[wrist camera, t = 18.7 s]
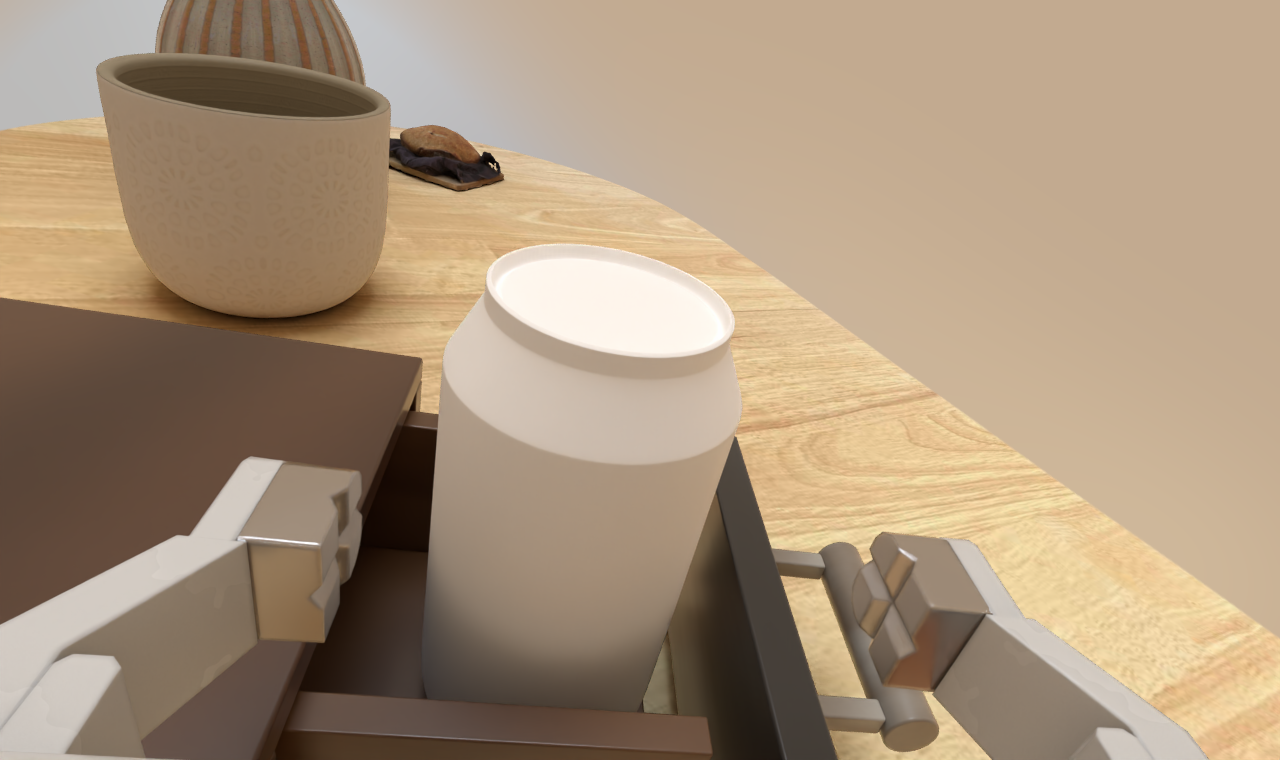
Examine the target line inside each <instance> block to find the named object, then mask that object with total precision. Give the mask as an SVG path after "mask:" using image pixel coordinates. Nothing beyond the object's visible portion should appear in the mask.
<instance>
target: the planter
mask: <svg viewBox="0 0 1280 760" xmlns="http://www.w3.org/2000/svg"><path fill="white" fill-rule="evenodd" d="M96 73H97V81H98V86H99V92H100V98H101V103H102V107H103V112H104V117H105V122H106V127H107V132H108V137H109V143H110V148H111V154H112V159H113V165H114V170H115V175H116V180H117V184H118V189H119V193H120V198H121V202H122V206H123V211H124V215H125V219H126V223H127V225H128V228H129V231H130V234H131V237H132V239H133V242H134V245H135V247H136V249H137V250H138V252H139V254H140V256H141V258H142V259H143V261H144V262H145V264H146V265H147V267H148V268H149V269H150V271H151V272H152V273H153V274H154V276H155V277H156V278H157V279H158V280H159V281H160V282H161V283H162V284H164V285H165V286H166V287H167V288H168V289H170V290H171V291H172V292H174V293H175V294H177V295H179V296H180V297H182V298H184V299H185V300H187V301H189V302H191V303H194V304H196V305H198V306H201V307H204V308H206V309H210V310H213V311H217V312H221V313H225V314H230V315H236V316H243V317H255V318H282V317H293V316H300V315H306V314H311V313H315V312H318V311H322V310H325V309H328V308H331V307H333V306H335V305H337V304H339V303H341V302H343V301H345V300H347V299H348V298H350V297H351V296H352V295H354V294H355V293H356V292H357V291H359V290H360V289H361V288H362V287H363V286H364V284H365V283H366V282H367V281H368V279H369V278H370V276H371V275H372V273H373V271H374V269H375V267H376V265H377V263H378V260H379V257H380V254H381V251H382V246H383V241H384V235H385V229H386V214H387V199H388V171H389V143H390V117H391V113H390V112H391V111H390V110H391V109H390V103H389V101H388V100H387V99H386V98H385V97H384V96H383V95H382V94H380V93H378V92H377V91H375V90H373V89H371V88H369V87H366V86H364V85H361V84H359V83H356V82H353V81H350V80H347V79H344V78H341V77H337V76H334V75H330V74H326V73H323V72H318V71H314V70H310V69H305V68H300V67H295V66H290V65H285V64H279V63H273V62H267V61H260V60H253V59H246V58H237V57H228V56H217V55H205V54H187V53H147V54H134V55H126V56H119V57H115V58H111V59H108V60H105V61H104V62H102V63H100V64H99V65H98V66H97V69H96Z"/></svg>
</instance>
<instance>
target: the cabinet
mask: <svg viewBox="0 0 1280 760" xmlns="http://www.w3.org/2000/svg"><path fill="white" fill-rule="evenodd" d="M422 364H423V361H422V358H418V357H411V356H404V355H397V354H390V353H383V352H376V351H369V350H362V349H356V348H349V347H342V346H335V345H328V344H321V343H314V342H307V341H300V340H293V339H286V338H279V337H272V336H265V335H258V334H251V333H244V332H237V331H230V330H223V329H216V328H209V327H202V326H195V325H188V324H181V323H174V322H167V321H160V320H153V319H146V318H139V317H132V316H125V315H118V314H111V313H104V312H97V311H90V310H83V309H76V308H69V307H62V306H55V305H48V304H41V303H34V302H27V301H21V300H14V299H7V298H0V625H1V624H3V623H5V622H7V621H9V620H11V619H13V618H15V617H17V616H19V615H21V614H23V613H25V612H26V611H28V610H30V609H32V608H34V607H36V606H38V605H40V604H42V603H44V602H46V601H48V600H50V599H52V598H54V597H56V596H58V595H60V594H62V593H64V592H66V591H68V590H70V589H72V588H74V587H76V586H78V585H80V584H82V583H84V582H86V581H88V580H89V579H91V578H93V577H95V576H97V575H99V574H101V573H103V572H105V571H107V570H109V569H111V568H113V567H115V566H117V565H119V564H121V563H123V562H125V561H127V560H129V559H131V558H133V557H135V556H137V555H139V554H141V553H143V552H145V551H147V550H149V549H151V548H153V547H154V546H156V545H158V544H160V543H162V542H164V541H166V540H168V539H170V538H172V537H174V536H176V535H182V536H189V535H190V534H191V532H192V531H193V529H194V528H195V527H196V525H197V524H198V522H199V521H200V520H201V518H202V517H203V515H204V514H205V512H206V511H207V510H208V508H209V507H210V505H211V504H212V503H213V501H214V500H215V498H216V497H217V495H218V494H219V493H220V491H221V490H222V488H223V487H224V486H225V484H226V483H227V481H228V480H229V478H230V477H231V476H232V474H233V473H234V471H235V470H236V469H237V467H238V466H239V464H240V463H241V462H242V461H243V460H245V459H247V458H249V457H250V456H252V457H259V458H266V459H274V460H281V461H286V462H287V461H293V462H300V463H307V464H314V465H322V466H329V467H336V468H343V469H350V470H358V471H359V472H360V473H361V474H362V494H361V497H360V499H359V501H358V504H357V506H356V509H357V510H358V511H359V512H360V513H361V515H362V528H363V525H364V523H365V520H366V518H367V515H368V513H369V510H370V508H371V505H372V503H373V500H374V497H375V495H376V492H377V490H378V487H379V485H380V482H381V480H382V477H383V475H384V472H385V470H386V467H387V465H388V462H389V460H390V457H391V454H392V452H393V449H394V447H395V444H396V442H397V439H398V437H399V434H400V432H401V429H402V427H403V424H404V422H405V419H406V416H407V414H408V411H416V412H420V402H421V385H422V382H421V378H422ZM316 644H317V643H314V642H294V641H274V640H258V644H256V645H255V646H254V647H253V648H252V649H250V650H249V651H248V652H247V653H246V654H244V655H243V656H242V657H241V658H240V659H238V660H237V661H236V662H235V663H234V664H232V665H231V666H230V667H229V668H228V669H226V670H225V671H224V672H223V673H222V674H220V675H219V676H218V677H217V678H216V679H214V680H213V681H212V682H211V683H210V684H208V685H207V686H206V687H205V688H204V689H202V690H201V691H200V692H199V693H198V694H196V695H195V696H194V697H193V698H192V699H190V700H189V701H188V702H187V703H186V704H184V705H183V706H182V707H181V708H180V709H178V710H177V711H176V712H175V713H174V714H172V715H171V716H170V717H169V718H168V719H166V720H165V721H164V722H163V723H162V724H160V725H159V726H158V727H157V728H156V729H154V730H153V731H152V732H151V733H150V734H148V735H147V736H146V737H145V738H144V739H142V740H141V743H142V746H143V750H144V754H145V758H154V759H174V760H276V753H275V752H274V751H275V748H276V746H277V743H278V741H279V738H280V736H281V733H282V731H283V728H284V725H285V723H286V720H287V718H288V715H289V713H290V710H291V708H292V705H293V703H294V700H295V698H296V695H297V693H298V690H299V687H300V685H301V682H302V680H303V677H304V675H305V672H306V670H307V667H308V665H309V662H310V660H311V657H312V655H313V652H314V649H315V647H316Z"/></svg>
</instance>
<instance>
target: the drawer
mask: <svg viewBox="0 0 1280 760" xmlns="http://www.w3.org/2000/svg"><path fill="white" fill-rule="evenodd" d="M438 417H439V414H431V413H424V412H416V411H408V414H407V416H406V419H405V422H404V424H403V427H402V429H401V432H400V434H399V437H398V439H397V442H396V444H395V447H394V449H393V452H392V454H391V457H390V460H389V462H388V465H387V467H386V470H385V472H384V475H383V477H382V480H381V482H380V485H379V487H378V490H377V492H376V495H375V497H374V500H373V503H372V505H371V508H370V510H369V513H368V515H367V518H366V520H365V523H364V525H363V528H362V533H361V542H360V547H359V551H358V555H357V559H356V563H355V566H354V569H353V571H352V574H351V577H350V579H349V580H348V581H346V582H345V583H343V584H342V585H340V605H339V607H338V610H337V612H336V615H335V618H334V620H333V623H332V625H331V628H330V630H329V633H328V635H327V638H326V640H325V643H317V644H316V647H315V649H314V652H313V655H312V657H311V660H310V662H309V665H308V667H307V670H306V672H305V675H304V677H303V680H302V682H301V685H300V687H299V690H298V693H297V695H296V698H295V700H294V703H293V705H292V708H291V710H290V713H289V715H288V718H287V720H286V723H285V725H284V728H283V731H282V733H281V736H280V738H279V741H278V743H277V746H276V748H275V751H274V752H275V753H276V760H838V758H837V755H836V752H835V748H834V745H833V742H832V739H831V736H830V732H829V730H832V731H847V732H863V733H878V732H880V735H881V737H882V740H883V743H884V744H885V745H886V746H887V747H888V748H889V749H891V750H893V751H897V752H909V751H915V750H918V749H921V748H923V747H925V746H927V745H929V744H930V743H932V742H933V741H934V740H935V739H936V738H937V736H938V734H939V726H938V724H937V721H936V719H935V717H934V715H933V713H932V711H931V708H930V706H929V704H928V702H927V700H926V697H925V695H924V693H923V691H919V690H910V689H901V688H891V687H883V685H882V683H881V680H880V678H879V676H878V673H877V671H876V668H875V666H874V663H873V661H872V659H871V656H870V654H869V651H868V648H869V645H870V643H871V640H872V638H871V637H870V636H869V635H867V634H866V633H865V632H864V631H863V630H862V629H861V628H860V627H859V626H858V624H857V621H856V619H855V616H854V613H853V608H852V602H851V596H852V585H853V581H854V579H855V577H856V575H857V573H858V570H859V568H861V567H862V566H864V563H863V561H862V558H861V556H860V554H859V552H858V550H857V549H856V548H855V547H854V546H853V545H851V544H849V543H845V542H837V543H833V544H830V545H828V546H826V547H824V548H823V549H822V550H821V551H820V552H819V553H809V552H800V551H791V550H782V549H772V548H771V545H770V542H769V539H768V536H767V533H766V529H765V526H764V523H763V520H762V517H761V513H760V510H759V507H758V504H757V501H756V498H755V494H754V491H753V488H752V485H751V482H750V479H749V475H748V472H747V469H746V466H745V463H744V460H743V456H742V453H741V450H740V447H739V444H738V441H737V437H735V436H734V439H733V442H732V445H731V448H730V451H729V454H728V457H727V460H726V463H725V466H724V468H723V471H722V474H721V477H720V480H719V483H718V486H717V489H716V492H715V495H714V497H713V500H712V503H711V506H710V509H709V512H708V515H707V518H706V521H705V524H704V526H703V529H702V532H701V535H700V538H699V541H698V544H697V547H696V550H695V553H694V555H693V558H692V561H691V564H690V567H689V570H688V573H687V576H686V579H685V581H684V584H683V587H682V590H681V593H680V596H679V599H678V602H677V605H676V607H675V610H674V613H673V616H672V619H671V622H670V625H669V628H668V634H669V642H670V650H671V658H672V667H673V675H674V683H675V691H676V699H677V708H678V715H669V714H654V713H644V708H643V700H642V702H641V704H640V707H639V709H638V711H637V712H623V711H607V710H592V709H576V708H561V707H545V706H530V705H514V704H499V703H483V702H468V701H452V700H437V699H427V696H426V692H425V688H424V683H423V677H422V639H423V622H424V608H425V593H426V579H427V566H428V552H429V538H430V524H431V511H432V497H433V484H434V470H435V457H436V444H437V430H438ZM780 576H789V577H799V578H809V579H820V578H821V580H822V582H823V585H824V587H825V590H826V593H827V595H828V598H829V601H830V603H831V606H832V609H833V611H834V614H835V616H836V619H837V622H838V624H839V627H840V630H841V632H842V635H843V637H844V640H845V643H846V645H847V648H848V651H849V653H850V656H851V659H852V661H853V664H854V666H855V669H856V672H857V674H858V677H859V680H860V682H861V685H862V687H863V690H864V693H865V695H866V698H867V699H865V698H851V697H837V696H824V695H818V694H817V691H816V688H815V685H814V682H813V679H812V675H811V672H810V669H809V666H808V663H807V659H806V656H805V653H804V650H803V647H802V644H801V640H800V637H799V634H798V631H797V628H796V625H795V621H794V618H793V615H792V612H791V609H790V606H789V602H788V599H787V596H786V593H785V590H784V586H783V583H782V580H781V577H780Z"/></svg>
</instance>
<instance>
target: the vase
mask: <svg viewBox="0 0 1280 760" xmlns="http://www.w3.org/2000/svg"><path fill="white" fill-rule="evenodd" d="M155 53H187V54H205V55H217V56H228V57H237V58H246V59H253V60H260V61H267V62H273V63H279V64H285V65H290V66H295V67H300V68H305V69H310V70H314V71H318V72H323V73H326V74H330V75H334V76H337V77H341V78H344V79H347V80H350V81H353V82H356V83H359V84H361V85H364V86H366V83H365V75H364V70H363V65H362V61H361V58H360V55H359V52H358V49H357V46H356V44H355V41H354V38H353V36H352V34H351V31H350V29H349V27H348V25H347V23H346V21H345V19H344V18H343V16H342V14H341V12H340V10H339V9H338V7H337V5H336V4H335V2H334V1H333V0H167V2H166V5H165V7H164V10H163V13H162V15H161V19H160V22H159V27H158V30H157V37H156V48H155Z"/></svg>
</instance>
